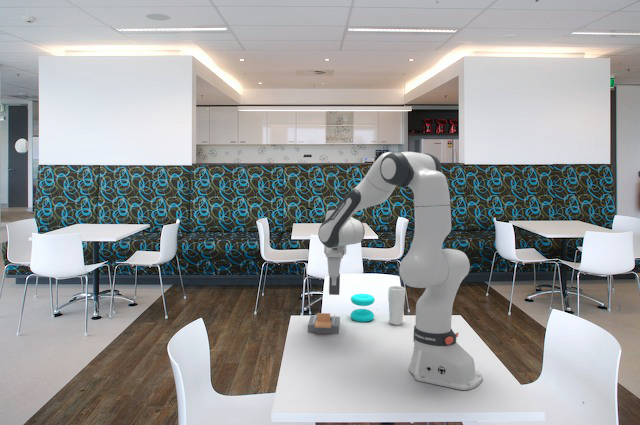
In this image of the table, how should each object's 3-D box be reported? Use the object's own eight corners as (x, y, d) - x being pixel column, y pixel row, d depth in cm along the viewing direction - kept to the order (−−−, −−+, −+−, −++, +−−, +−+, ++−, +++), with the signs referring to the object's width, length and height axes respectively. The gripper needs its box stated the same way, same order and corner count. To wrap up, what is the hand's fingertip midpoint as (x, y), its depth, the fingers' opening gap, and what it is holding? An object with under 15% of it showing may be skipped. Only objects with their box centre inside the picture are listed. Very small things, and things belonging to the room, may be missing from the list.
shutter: (331, 322, 196) (331, 313, 196) (330, 328, 190) (330, 318, 190) (315, 322, 197) (316, 312, 197) (314, 327, 191) (314, 317, 190)
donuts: (379, 295, 212) (365, 300, 204) (378, 318, 213) (365, 324, 205) (360, 291, 218) (346, 296, 211) (359, 314, 219) (345, 319, 212)
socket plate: (339, 323, 205) (339, 315, 205) (338, 333, 193) (338, 324, 193) (310, 322, 206) (310, 314, 206) (307, 332, 194) (307, 323, 194)
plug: (338, 292, 202) (339, 271, 201) (339, 294, 198) (339, 273, 197) (328, 291, 202) (329, 271, 201) (329, 294, 198) (329, 273, 197)
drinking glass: (405, 322, 208) (407, 287, 207) (401, 326, 202) (402, 290, 201) (390, 319, 211) (391, 285, 210) (385, 324, 205) (386, 288, 204)
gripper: (328, 244, 208) (327, 276, 210) (325, 253, 188) (324, 289, 189) (343, 244, 208) (342, 277, 209) (342, 254, 187) (341, 290, 189)
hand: (334, 283), depth 199 cm, fingers closed on plug, 4 cm apart
